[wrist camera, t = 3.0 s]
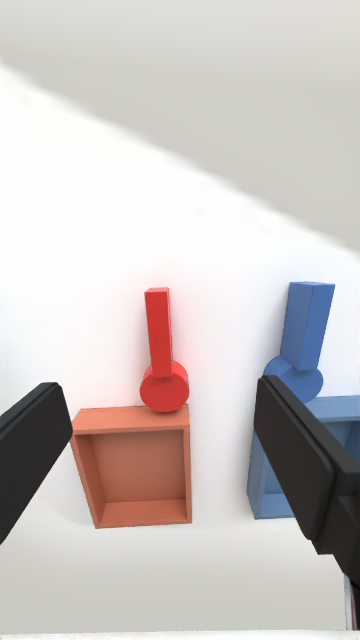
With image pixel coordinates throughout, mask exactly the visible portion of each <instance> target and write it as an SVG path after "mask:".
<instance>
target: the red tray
mask: <svg viewBox="0 0 360 640" xmlns="http://www.w3.org/2000/svg"><path fill="white" fill-rule="evenodd" d="M72 427H73V434H72V437H71V439H70V440H69V441H70V444H71V448H72V451H73V455H74V458H75V461H76V465H77V468H78V471H79V475H80V478H81V482H82V485H83V488H84V492H85V495H86V499H87V502H88V505H89V509H90V512H91V515H92V519H93V522H94V525H95V528H96V529H99V528H116V527H134V526H151V525H169V524H187V523H192V499H191V464H190V429H189V414H188V404H184V405H183V406H181V407H180V408H178V409H177V410H174V411H171V412H159V411H155V410H153V409H151V408H149V407H148V406H134V407H113V408H93V409H81V410H80V411H79V413H78V414H77V415H76V417H75V418H74V420H73V421H72Z"/></svg>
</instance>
